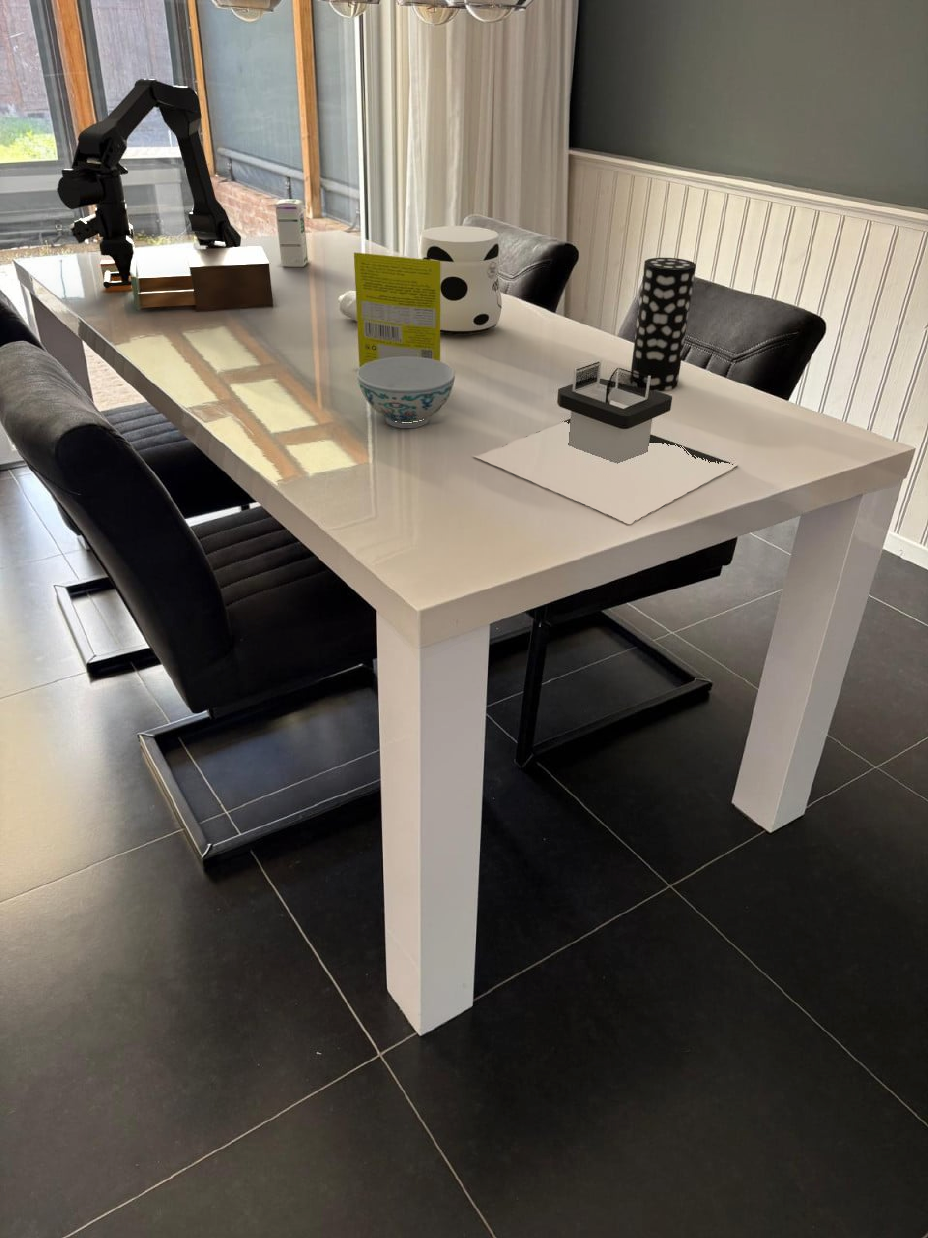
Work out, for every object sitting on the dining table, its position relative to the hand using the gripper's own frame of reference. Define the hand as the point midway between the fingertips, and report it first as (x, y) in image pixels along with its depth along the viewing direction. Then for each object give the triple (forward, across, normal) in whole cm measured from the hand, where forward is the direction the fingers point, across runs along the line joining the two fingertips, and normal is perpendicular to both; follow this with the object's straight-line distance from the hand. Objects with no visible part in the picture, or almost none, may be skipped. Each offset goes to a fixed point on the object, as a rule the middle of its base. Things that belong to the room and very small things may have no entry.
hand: (125, 281), depth 189 cm
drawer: (+4, 0, +7) cm, 8 cm away
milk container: (+5, +32, +64) cm, 72 cm away
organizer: (+5, 0, +22) cm, 22 cm away
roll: (+5, +22, +45) cm, 50 cm away
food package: (+5, +57, +46) cm, 73 cm away
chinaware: (+5, +77, +42) cm, 88 cm away
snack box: (+5, -14, -2) cm, 15 cm away
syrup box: (+5, -30, +39) cm, 49 cm away
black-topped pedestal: (+5, +100, +66) cm, 120 cm away
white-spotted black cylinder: (+5, +71, +88) cm, 114 cm away
